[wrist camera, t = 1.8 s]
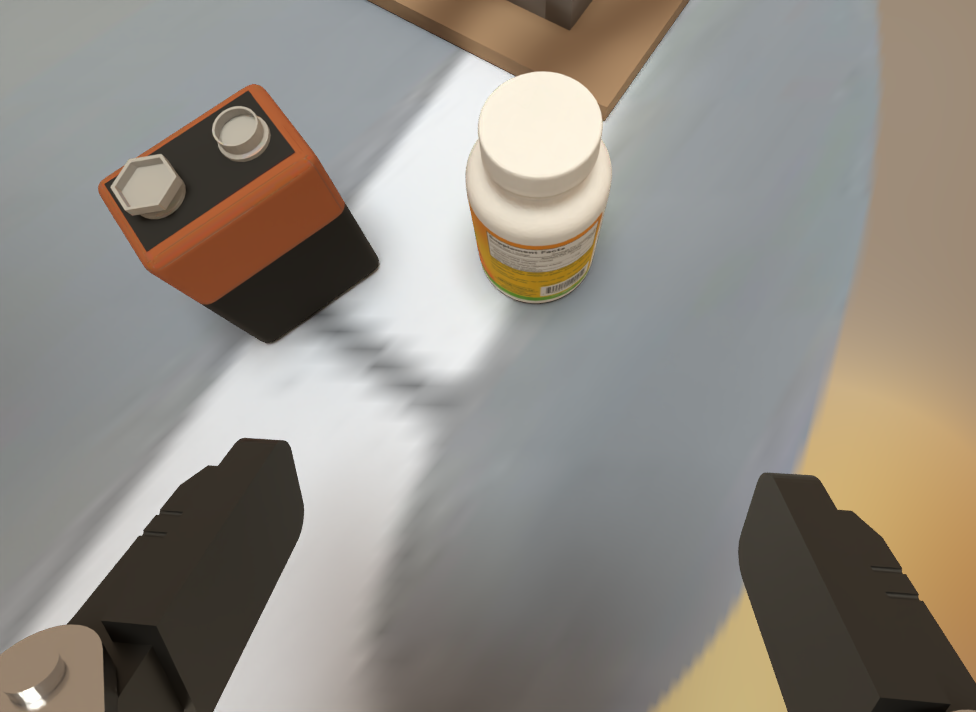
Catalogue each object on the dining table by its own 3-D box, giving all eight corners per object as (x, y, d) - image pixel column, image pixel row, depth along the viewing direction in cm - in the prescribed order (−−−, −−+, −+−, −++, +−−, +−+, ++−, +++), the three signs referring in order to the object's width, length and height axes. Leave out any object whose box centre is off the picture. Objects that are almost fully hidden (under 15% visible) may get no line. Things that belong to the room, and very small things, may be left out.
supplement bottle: (502, 190, 28) (488, 35, 19) (606, 220, 28) (646, 73, 18) (464, 286, 27) (430, 171, 18) (572, 320, 26) (596, 218, 17)
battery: (224, 282, 28) (66, 166, 19) (337, 205, 29) (241, 53, 19) (269, 349, 27) (125, 263, 17) (385, 267, 28) (309, 140, 18)
